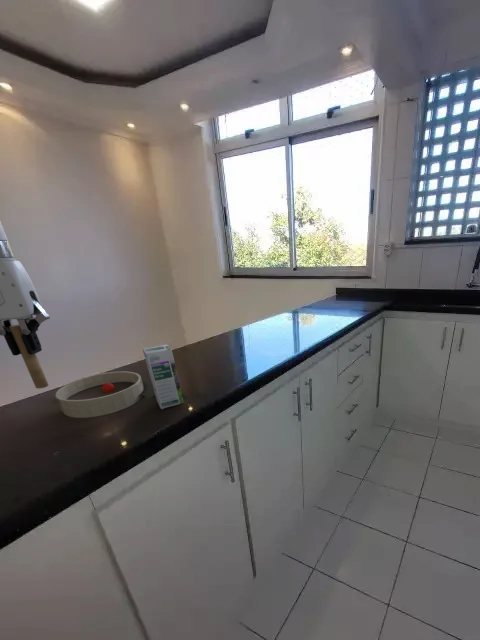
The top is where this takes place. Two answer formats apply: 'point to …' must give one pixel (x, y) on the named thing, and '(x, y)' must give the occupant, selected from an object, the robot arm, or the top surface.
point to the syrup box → (163, 375)
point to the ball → (108, 387)
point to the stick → (29, 359)
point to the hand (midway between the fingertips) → (27, 352)
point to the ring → (102, 403)
